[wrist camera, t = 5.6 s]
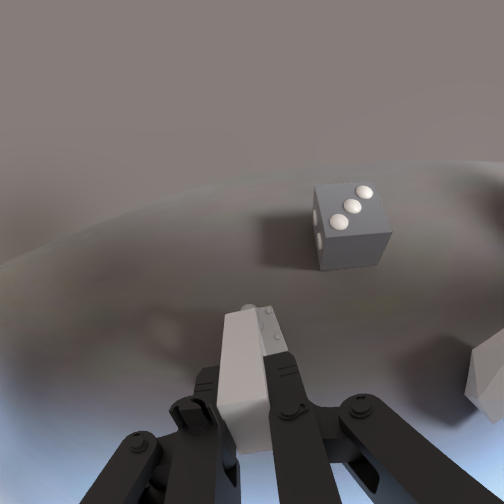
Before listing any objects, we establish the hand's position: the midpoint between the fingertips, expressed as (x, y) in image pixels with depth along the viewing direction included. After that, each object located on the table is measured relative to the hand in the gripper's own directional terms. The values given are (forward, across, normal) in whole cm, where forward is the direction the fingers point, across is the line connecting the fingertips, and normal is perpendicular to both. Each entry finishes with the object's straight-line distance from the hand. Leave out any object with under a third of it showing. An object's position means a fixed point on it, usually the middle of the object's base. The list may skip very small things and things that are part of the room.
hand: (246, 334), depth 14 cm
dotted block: (+15, +11, -1) cm, 19 cm away
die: (+1, +21, -14) cm, 25 cm away
